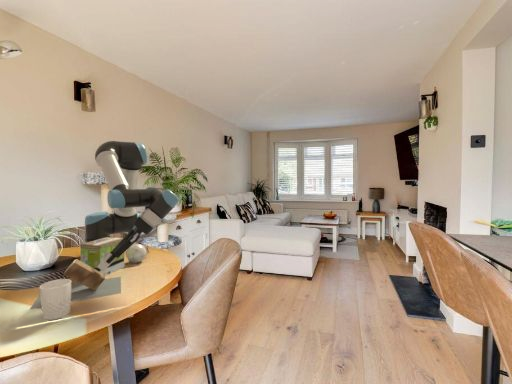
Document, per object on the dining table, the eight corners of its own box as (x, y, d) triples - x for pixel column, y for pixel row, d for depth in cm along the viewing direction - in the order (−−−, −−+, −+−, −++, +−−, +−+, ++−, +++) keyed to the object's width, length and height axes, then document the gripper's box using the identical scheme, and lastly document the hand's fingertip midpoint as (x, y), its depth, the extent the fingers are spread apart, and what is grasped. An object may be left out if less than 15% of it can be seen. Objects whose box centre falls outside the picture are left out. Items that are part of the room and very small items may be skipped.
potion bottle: (129, 268, 129) (140, 262, 144) (146, 256, 130) (155, 251, 145) (118, 253, 129) (130, 248, 144) (135, 241, 130) (145, 237, 145)
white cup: (54, 308, 86) (53, 278, 86) (78, 309, 86) (77, 278, 86) (33, 321, 78) (32, 288, 78) (59, 322, 78) (58, 289, 78)
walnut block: (105, 275, 104) (75, 258, 100) (104, 279, 100) (73, 262, 95) (96, 286, 103) (65, 269, 98) (95, 290, 99) (63, 274, 94)
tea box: (100, 280, 111) (99, 245, 110) (80, 278, 113) (78, 243, 112) (125, 268, 125) (124, 237, 125) (106, 266, 127) (105, 236, 127)
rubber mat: (120, 278, 113) (120, 276, 113) (121, 294, 97) (121, 292, 97) (43, 289, 101) (43, 288, 101) (29, 310, 85) (29, 309, 85)
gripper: (138, 213, 112) (93, 258, 106) (140, 217, 101) (90, 268, 94) (152, 225, 115) (109, 269, 108) (156, 230, 104) (108, 280, 97)
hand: (100, 268), depth 101 cm, fingers closed
